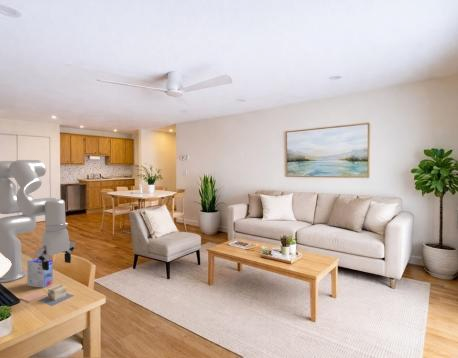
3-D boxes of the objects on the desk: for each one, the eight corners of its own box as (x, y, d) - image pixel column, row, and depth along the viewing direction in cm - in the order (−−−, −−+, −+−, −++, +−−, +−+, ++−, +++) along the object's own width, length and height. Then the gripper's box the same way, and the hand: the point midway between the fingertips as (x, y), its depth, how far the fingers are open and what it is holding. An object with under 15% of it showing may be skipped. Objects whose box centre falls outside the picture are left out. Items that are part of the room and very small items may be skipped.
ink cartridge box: (53, 283, 136) (53, 254, 135) (44, 288, 130) (43, 258, 129) (37, 281, 138) (36, 252, 137) (26, 286, 132) (26, 256, 131)
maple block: (47, 297, 121) (47, 288, 121) (59, 292, 125) (58, 284, 125) (55, 300, 119) (54, 291, 119) (66, 295, 123) (66, 286, 123)
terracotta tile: (19, 298, 120) (19, 297, 120) (36, 292, 126) (36, 291, 126) (29, 302, 117) (29, 301, 117) (46, 295, 123) (46, 294, 123)
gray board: (37, 300, 118) (37, 300, 118) (60, 291, 127) (60, 290, 127) (52, 306, 114) (52, 305, 114) (74, 295, 123) (74, 295, 123)
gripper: (69, 223, 130) (70, 258, 130) (29, 231, 114) (30, 271, 115) (79, 224, 126) (80, 261, 127) (40, 232, 111) (41, 274, 112)
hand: (57, 266), depth 121 cm, fingers open, 9 cm apart
